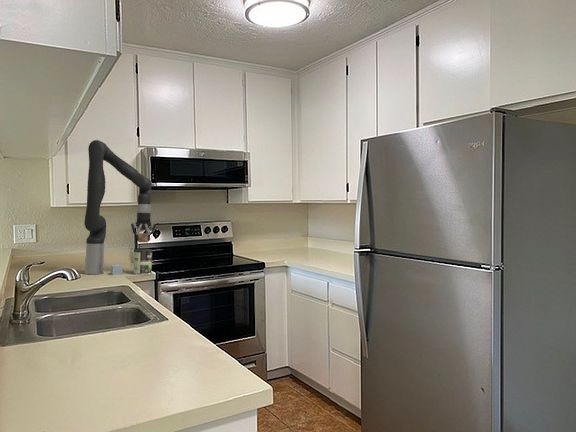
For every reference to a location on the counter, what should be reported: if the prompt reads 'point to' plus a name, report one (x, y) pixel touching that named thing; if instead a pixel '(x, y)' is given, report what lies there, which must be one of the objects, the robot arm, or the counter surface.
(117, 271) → the slate-blue block
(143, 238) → the walnut block
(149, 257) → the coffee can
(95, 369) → the counter surface
